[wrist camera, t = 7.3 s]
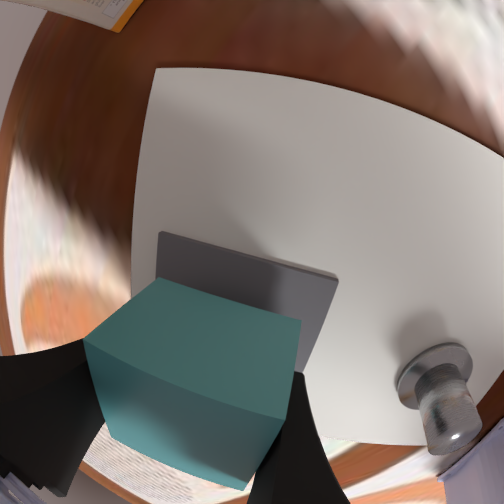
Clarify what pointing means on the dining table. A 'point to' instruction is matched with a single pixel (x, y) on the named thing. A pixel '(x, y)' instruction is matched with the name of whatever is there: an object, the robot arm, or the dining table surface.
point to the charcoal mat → (250, 283)
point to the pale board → (335, 226)
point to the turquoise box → (194, 379)
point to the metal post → (441, 396)
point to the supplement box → (90, 10)
